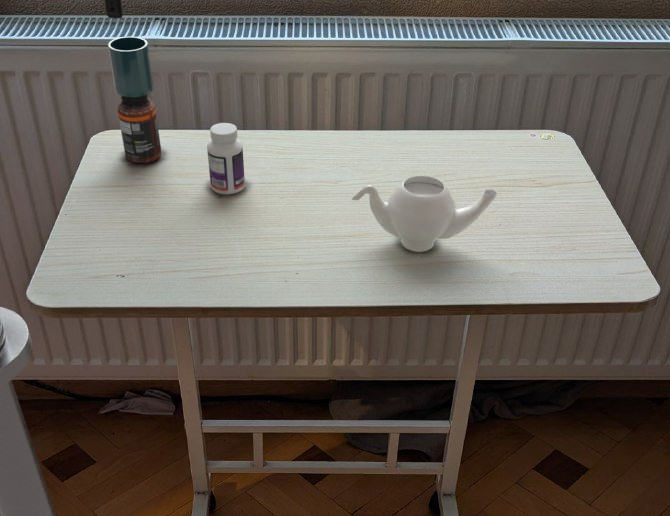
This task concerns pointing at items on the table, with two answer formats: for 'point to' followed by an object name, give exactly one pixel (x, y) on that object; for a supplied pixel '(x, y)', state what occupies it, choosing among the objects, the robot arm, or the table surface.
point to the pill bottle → (225, 159)
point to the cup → (131, 66)
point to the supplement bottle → (139, 129)
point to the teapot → (423, 211)
